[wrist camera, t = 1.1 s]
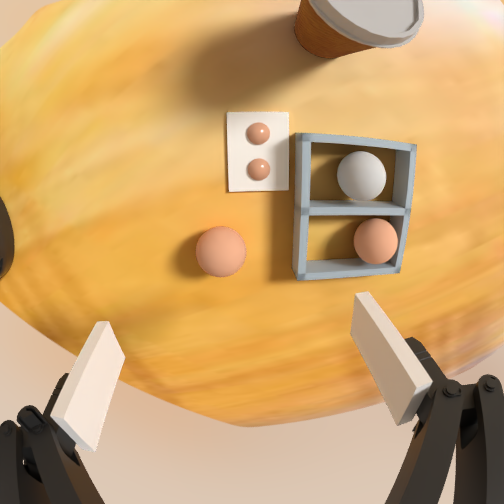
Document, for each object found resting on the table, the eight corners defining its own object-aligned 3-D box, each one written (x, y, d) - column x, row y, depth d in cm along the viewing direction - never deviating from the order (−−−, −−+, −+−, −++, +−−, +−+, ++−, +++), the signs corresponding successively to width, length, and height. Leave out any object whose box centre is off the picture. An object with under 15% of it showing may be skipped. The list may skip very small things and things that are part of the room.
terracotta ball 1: (200, 264, 31) (195, 287, 27) (196, 221, 29) (190, 238, 25) (245, 262, 32) (248, 285, 27) (244, 219, 30) (247, 235, 25)
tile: (229, 191, 28) (229, 192, 28) (226, 112, 25) (226, 112, 25) (288, 189, 29) (288, 190, 28) (288, 112, 26) (289, 112, 25)
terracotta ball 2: (344, 253, 32) (361, 273, 28) (349, 212, 30) (368, 227, 26) (381, 252, 32) (401, 270, 28) (387, 212, 30) (409, 226, 26)
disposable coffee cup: (333, 89, 25) (393, 69, 14) (259, 33, 22) (277, -23, 11) (379, 38, 22) (444, 8, 11) (312, -16, 19) (351, -71, 8)
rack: (291, 267, 32) (297, 280, 30) (295, 132, 26) (302, 132, 24) (388, 262, 33) (399, 272, 30) (401, 142, 27) (416, 144, 24)
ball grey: (329, 194, 29) (346, 206, 25) (331, 147, 27) (349, 151, 23) (370, 195, 29) (392, 207, 25) (373, 151, 27) (397, 156, 23)
